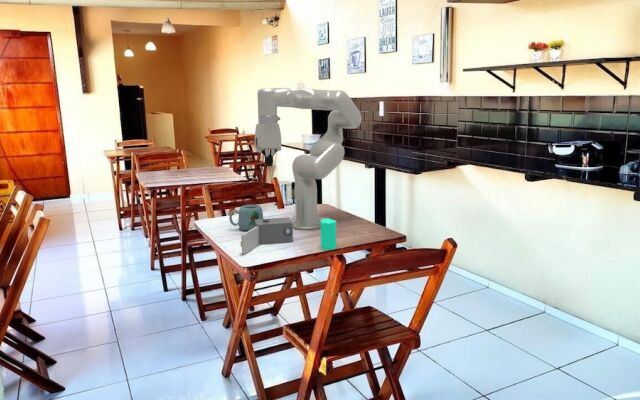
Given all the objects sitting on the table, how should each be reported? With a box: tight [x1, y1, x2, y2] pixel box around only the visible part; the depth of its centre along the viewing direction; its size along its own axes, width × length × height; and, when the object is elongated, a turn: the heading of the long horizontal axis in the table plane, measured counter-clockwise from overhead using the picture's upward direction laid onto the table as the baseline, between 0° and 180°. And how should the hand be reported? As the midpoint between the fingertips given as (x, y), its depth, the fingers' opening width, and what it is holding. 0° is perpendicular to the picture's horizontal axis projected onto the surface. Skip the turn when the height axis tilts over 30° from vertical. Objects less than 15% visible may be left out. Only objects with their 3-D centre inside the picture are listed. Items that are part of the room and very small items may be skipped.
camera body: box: [255, 217, 294, 246], centre depth 210 cm, size 14×9×9 cm, turn 103°
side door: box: [240, 226, 259, 255], centre depth 198 cm, size 14×2×7 cm, turn 162°
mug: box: [229, 204, 264, 232], centre depth 228 cm, size 15×11×10 cm
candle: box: [320, 217, 337, 251], centre depth 200 cm, size 6×6×12 cm
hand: (269, 165), depth 213 cm, fingers closed
